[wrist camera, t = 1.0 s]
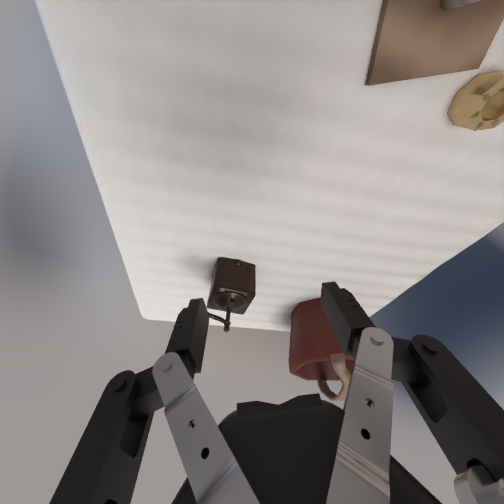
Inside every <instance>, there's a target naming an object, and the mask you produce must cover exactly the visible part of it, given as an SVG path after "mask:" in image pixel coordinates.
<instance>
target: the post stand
mask: <svg viewBox="0 0 504 504" xmlns="http://www.w3.org/2000/svg"><path fill="white" fill-rule="evenodd" d="M503 19H504V0H384V1H383V6H382V10H381V15H380V20H379V24H378V29H377V34H376V38H375V43H374V47H373V52H372V57H371V61H370V66H369V71H368V75H367V80H366V84H365V85H375V84H381V83H388V82H394V81H401V80H407V79H414V78H420V77H427V76H433V75H440V74H446V73H453V72H459V71H466V70H472V69H479V67H480V65H481V63H482V61H483V59H484V57H485V55H486V53H487V51H488V49H489V47H490V45H491V43H492V41H493V39H494V37H495V35H496V33H497V31H498V29H499V27H500V25H501V23H502V21H503Z"/></svg>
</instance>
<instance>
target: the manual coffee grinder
mask: <svg viewBox="0 0 504 504" xmlns="http://www.w3.org/2000/svg"><path fill="white" fill-rule="evenodd" d="M255 294H256V292H255V265H252V264H249V263H245V262H242V261H239V260H233V259H228V258H218V260H217V262H216V265H215V268H214V271H213V274H212V282H211V288H210V293H209V298H208V302H207V308H210V309H215V310H221V311H226V312H227V313H226V320H225V319H223V318H221V317H219V316H216V315H213V314H211V313H208V315H209V317H210V318H212V319H215V320H217V321H220V322H222V323H224V326H225V327H224V331H225V332H228V331H229V326H230V324H231V322H230V313H231V312H232V313H237V314H244V312H245V311H246V309H247V308H248V306H249V305H250V303H251V302H252V300H253V299H254V297H255ZM187 308H188V307H187Z"/></svg>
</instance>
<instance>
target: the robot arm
mask: <svg viewBox="0 0 504 504" xmlns="http://www.w3.org/2000/svg"><path fill="white" fill-rule="evenodd" d="M321 306H322V309H323V311H324V313H325V315H326V317H327V319H328V321H329V323H330V325H331V327H332V329H333V331H334V333H335V335H336V337H337V339H338V342H339V344H340V346H341V348H342V350H343V352H344V354H345V355H351V354H352V356H353V358H354V363H353V367H352V372H351V376H350V381H349V385H348V389H347V394H346V398H345V402H344V406H343V410H342V409H341V408H339V407H338V406H336V405H334V404H332V403H330V402H327V401H324V400H321V398H320V395H319V394H318V393H317V394H309V395H301V396H297V397H295V398H293V399H291V400H289V401H286V402H285V403H282V404H280V405H276V404H270V403H266V402H260V401H252V402H244V403H237V410H236V411H234V412H232V413H231V414H229V415H228V416H227V417H226V418H225V419H223V420H222V422H221V423H220V424H219V425H218V426H217V424H216V422H215V420H214V419H213V417H212V415H211V413H210V411H209V410H208V408H207V406H206V404H205V402H204V400H203V399H202V397H201V395H200V393H199V391H198V389H197V388H196V386H195V384H194V382H193V379H194V374H195V373H200V372H201V367H202V361H203V355H204V349H205V343H206V337H207V331H208V325H209V315H208V311H207V308H206V306H205V303H204V300H203V298H198V299H191V300H190V303H189V306H188V308H183V310H182V311H181V312H180V313H179V315H178V317H177V320H176V324H175V326H174V330H173V332H172V334H171V337H170V340H169V343H168V346H167V349H166V352H165V354H164V355H163V356H161V357H160V358H159V359H158V360H157V361H156V363H155V364H154V366H152V367H150V368H148V369H146V370H144V371H142V372H139V373H137V374H135V373H134V372H132V371H130V370H127V371H123V372H121V373H119V374H117V375H116V376H115V377H114V378H112V379H111V380H110V382H109V383H108V384H107V386H106V388H105V390H104V392H103V394H102V396H101V398H100V400H99V402H98V404H97V406H96V408H95V411H94V413H93V415H92V417H91V419H90V421H89V423H88V425H87V427H86V429H85V431H84V433H83V435H82V437H81V439H80V442H79V443H78V446H77V448H76V450H75V452H74V454H73V456H72V458H71V460H70V462H69V464H68V466H67V468H66V470H65V472H64V475H63V477H62V479H61V481H60V483H59V485H58V487H57V489H56V491H55V493H54V495H53V497H52V499H51V501H50V504H130V502H131V499H132V495H133V491H134V487H135V483H136V480H137V476H138V472H139V468H140V464H141V461H142V457H143V453H144V449H145V445H146V441H147V438H148V434H149V430H150V426H151V422H152V419H153V415H154V411H156V410H158V409H160V408H162V407H164V406H165V410H164V412H165V416H166V419H167V422H168V424H169V427H170V430H171V433H172V435H173V438H174V441H175V444H176V446H177V449H178V452H179V454H180V457H181V460H182V463H183V466H184V468H185V471H186V474H187V478H186V480H185V482H184V483H183V485H182V487H181V488H180V490H179V492H178V494H177V495H176V497H175V499H174V500H173V502H172V504H442V503H441V502H440V501H439V500H438V499H437V498H435V496H433V495H432V494H431V493H430V492H429V491H428V490H427V489H426V488H425V487H424V486H423V485H422V484H421V483H420V482H419V481H418V480H417V479H416V478H415V477H414V476H413V475H411V474H410V473H409V472H408V471H407V470H406V469H405V468H404V467H403V466H402V465H401V464H400V463H399V462H398V461H397V460H396V459H395V458H394V457H392V456H391V455H390V446H391V429H392V411H393V392H394V384H393V382H392V381H391V379H392V380H396V381H401V382H402V384H403V386H404V387H405V389H406V390H407V392H408V394H409V396H410V397H411V399H412V401H413V402H414V404H415V405H416V407H417V409H418V411H419V412H420V414H421V416H422V417H423V419H424V421H425V422H426V424H427V425H428V427H429V429H430V431H431V432H432V434H433V436H434V437H435V439H436V440H437V442H438V444H439V445H440V447H441V449H442V450H443V452H444V454H445V455H446V457H447V459H448V460H449V462H450V463H451V465H452V467H453V469H454V470H455V472H456V474H457V476H456V477H455V480H454V489H455V493H456V496H457V498H458V500H459V502H460V504H504V410H503V409H502V408H501V407H500V406H499V405H498V403H497V402H496V401H495V400H494V399H493V398H492V397H491V396H490V395H489V394H488V393H487V391H486V390H485V389H484V388H483V387H482V386H481V385H480V384H479V383H478V382H477V380H475V378H474V377H473V376H472V375H471V374H470V373H469V372H468V371H467V370H466V369H465V367H464V366H463V365H462V364H461V363H460V362H459V361H458V360H457V359H456V358H455V357H454V355H453V354H452V353H451V352H450V351H449V350H448V349H447V348H446V347H445V346H444V345H443V344H442V343H441V342H439V341H438V340H436V339H435V338H433V337H430V336H427V335H416V336H414V337H413V338H412V340H406V339H399V338H394V337H390V336H389V335H388V334H387V333H386V332H384V331H383V330H381V329H378V328H376V327H375V325H374V324H373V323H372V321H371V320H370V318H369V317H368V316H367V314H366V313H365V311H364V310H363V309H362V307H361V306H360V304H359V303H358V302H357V301H356V299H355V298H354V296H353V295H352V293H350V292H349V291H348V290H346V289H345V288H342V289H340V288H339V287H338V285H337V284H336V282H334V281H333V282H326V283H322V290H321Z"/></svg>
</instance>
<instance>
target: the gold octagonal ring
mask: <svg viewBox="0 0 504 504" xmlns="http://www.w3.org/2000/svg"><path fill="white" fill-rule="evenodd" d="M447 113H448V115H449V117H450V119H451V121H452V123H453V125H457V126H460V127H464V128H467V129H471V130H474V131H475V130H483V129H491V128H495V127H496V126H497V125H499V124H500V123H502V122H503V121H504V71H496V72H489V73H483V74H478V75H477V76H476V77H475V78H473V79H472V80H471V81H470V82H469V83H467V84H466V85H465V86H464V87H463V88H462V89H460V90H459V91H458V92H457V94H456V96H455V98H454V100H453V102H452V104H451V106H450V108H449V110H448V112H447Z"/></svg>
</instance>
